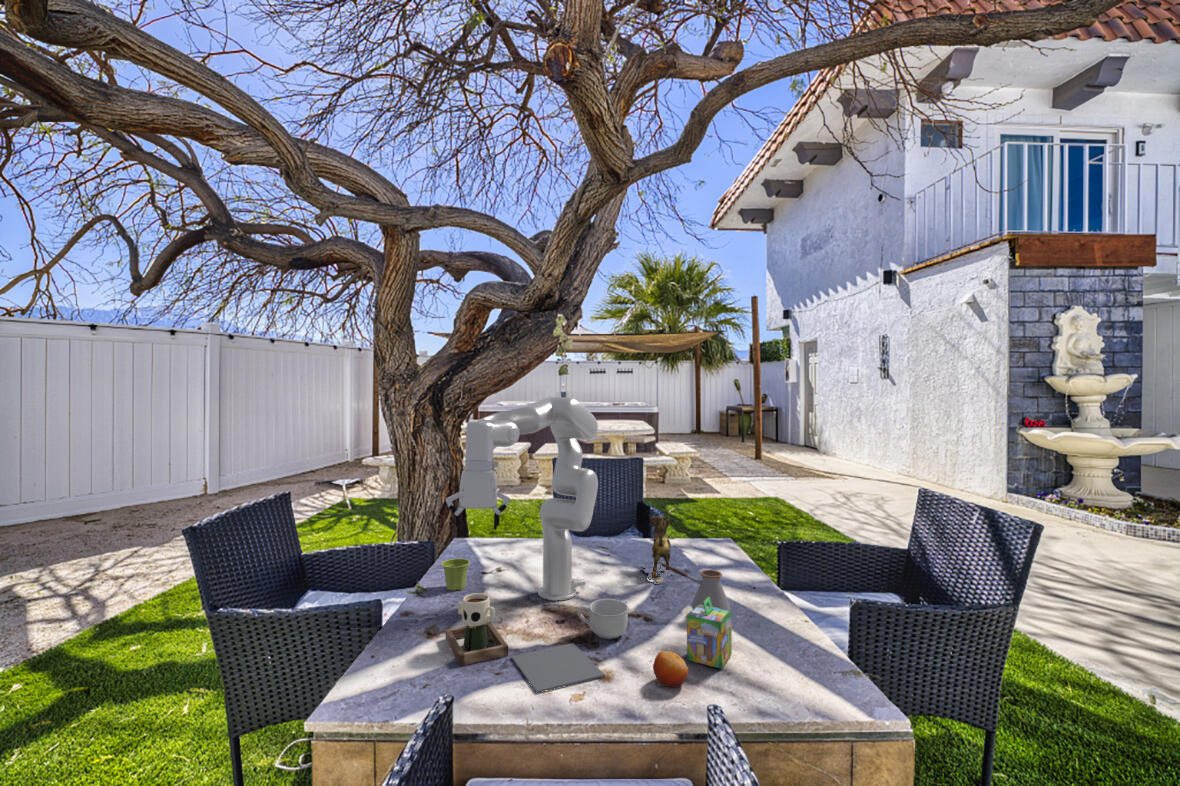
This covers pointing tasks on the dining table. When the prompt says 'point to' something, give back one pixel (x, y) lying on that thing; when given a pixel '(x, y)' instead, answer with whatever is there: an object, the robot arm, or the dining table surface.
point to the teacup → (606, 617)
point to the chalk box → (709, 635)
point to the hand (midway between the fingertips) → (477, 529)
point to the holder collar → (476, 655)
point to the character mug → (476, 619)
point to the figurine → (660, 544)
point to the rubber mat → (556, 667)
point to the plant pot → (455, 573)
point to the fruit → (670, 669)
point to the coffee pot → (707, 588)
